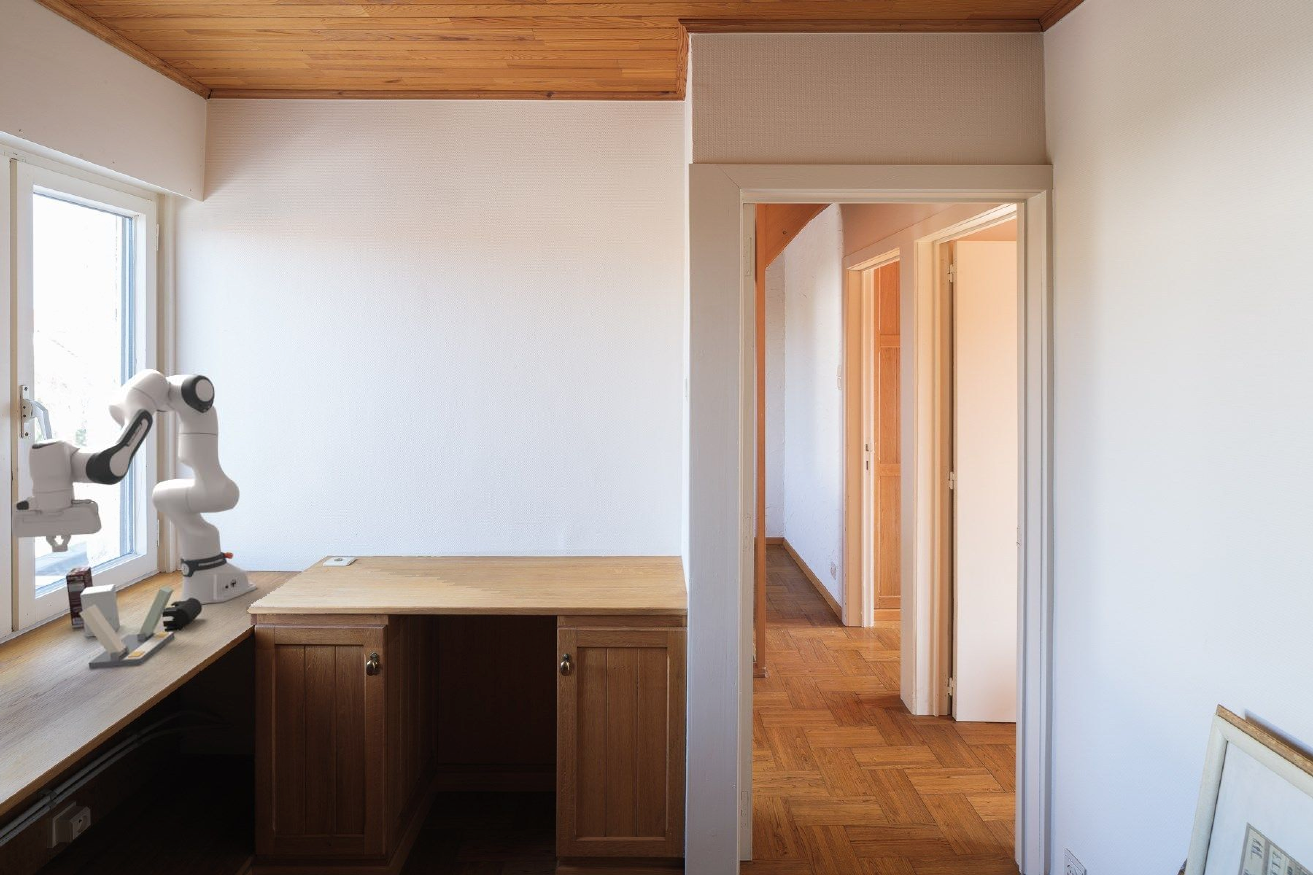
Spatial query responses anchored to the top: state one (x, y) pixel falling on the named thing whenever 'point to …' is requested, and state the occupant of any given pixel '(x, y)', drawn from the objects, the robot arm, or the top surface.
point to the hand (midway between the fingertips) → (60, 551)
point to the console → (133, 650)
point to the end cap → (181, 614)
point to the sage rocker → (156, 610)
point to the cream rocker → (103, 630)
